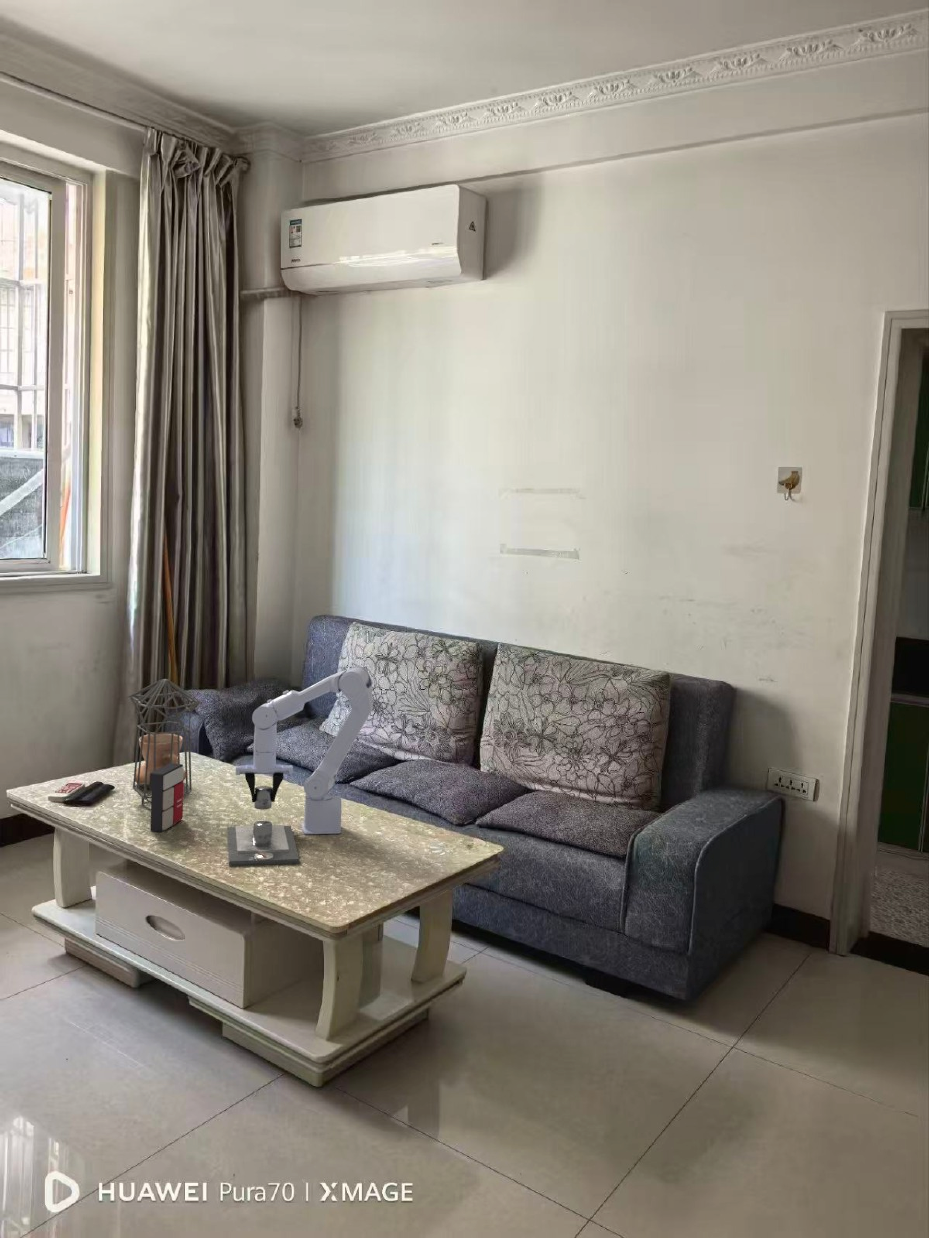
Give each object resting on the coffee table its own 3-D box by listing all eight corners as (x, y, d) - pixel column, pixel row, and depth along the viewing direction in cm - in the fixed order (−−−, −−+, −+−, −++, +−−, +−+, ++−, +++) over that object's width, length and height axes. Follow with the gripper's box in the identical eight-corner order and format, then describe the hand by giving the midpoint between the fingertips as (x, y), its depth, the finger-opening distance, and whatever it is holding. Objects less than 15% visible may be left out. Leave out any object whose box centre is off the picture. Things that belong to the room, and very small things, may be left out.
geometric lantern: (178, 794, 281) (181, 672, 277) (200, 810, 269) (204, 682, 265) (122, 802, 271) (125, 675, 267) (142, 818, 259) (146, 686, 255)
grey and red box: (163, 833, 249) (165, 774, 248) (147, 830, 250) (149, 772, 248) (184, 820, 260) (186, 764, 258) (169, 818, 261) (170, 762, 259)
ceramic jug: (124, 781, 290) (125, 734, 289) (172, 775, 299) (173, 729, 298) (147, 798, 276) (149, 748, 275) (197, 791, 286) (198, 742, 284)
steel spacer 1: (271, 804, 262) (271, 785, 262) (272, 809, 258) (272, 790, 258) (254, 804, 261) (254, 785, 261) (254, 809, 257) (255, 790, 256)
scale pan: (283, 827, 256) (283, 824, 256) (288, 851, 238) (288, 849, 238) (235, 828, 253) (235, 825, 252) (237, 853, 235) (237, 850, 235)
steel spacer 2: (266, 839, 244) (267, 819, 243) (274, 845, 240) (275, 825, 240) (249, 842, 241) (250, 822, 241) (257, 847, 238) (258, 827, 237)
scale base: (290, 830, 257) (290, 824, 257) (298, 863, 234) (299, 857, 234) (227, 831, 253) (227, 825, 253) (229, 866, 230) (229, 859, 230)
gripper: (292, 746, 264) (290, 795, 265) (235, 746, 260) (234, 796, 261) (294, 752, 257) (292, 803, 258) (236, 753, 253) (235, 805, 255)
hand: (263, 800), depth 259 cm, fingers closed on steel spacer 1, 4 cm apart
